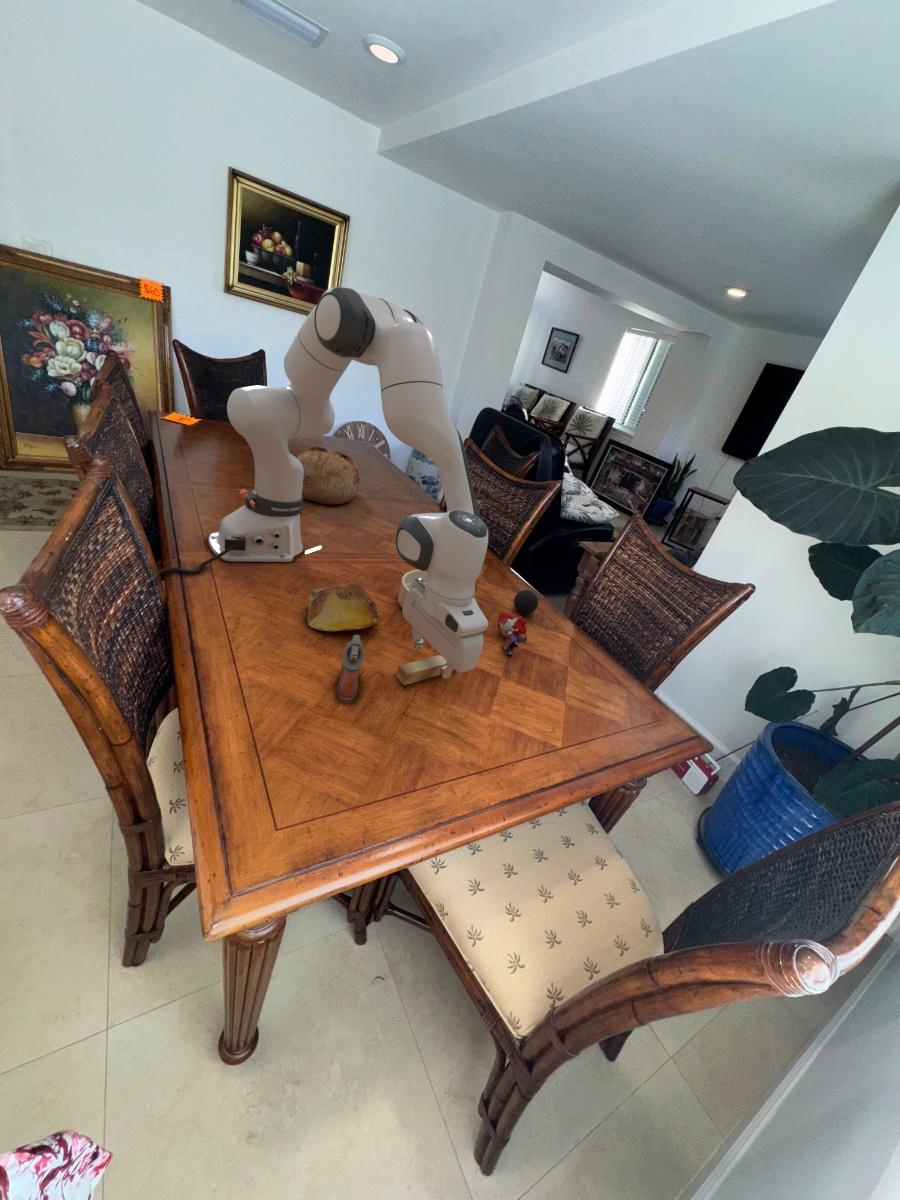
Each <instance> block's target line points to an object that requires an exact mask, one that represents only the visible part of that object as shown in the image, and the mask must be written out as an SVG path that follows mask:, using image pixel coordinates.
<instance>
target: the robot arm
mask: <svg viewBox="0 0 900 1200" xmlns="http://www.w3.org/2000/svg"><path fill="white" fill-rule="evenodd" d="M434 339H435V338H434V336H433V335H432V333H431V331H430V330H429V328H428V327H426V326H425V325H424V323H422V321H421V320H420V319H419V318H418V316H416V315H415V314H414V313H412V311H411V312H410V310H407V309H403V308H401V307H399V306H398V305H396V304H394V303H392V302H390V301H388V300H386V299H384V298H381V297H375V296H373V295H369V294H366V293H363V292H358V291H356V290H355V289H353V288H350V287H343V286H335V287H334V286H333V287H329V288H328V289H326V290H325V291H324V292H323V293H322V295H321V296H320V298H319V299H318V300H317V304H316V305H315V306H314V307H313V309H311V311H310V313H308V315H307V316H306V318H305V319H304V321H303V323H302V325H301V326H300V327H299V329H298V331H297V333H296V335H295V337H294V339H293V341H292V342H291V344H290V346H289V348H288V350H287V351H286V353H285V355H284V357H283V369H284V372H285V375H286V377H287V379H288V381H289V382H290V383H289V384H288V385H286V386H281V387H280V386H268V385H250V386H242V387H239V388H235V389H234V390H232V392H231V393H230V395H229V397H228V399H227V404H226V413H227V418H228V420H229V422H230V425H231V426H232V428H233V429H234V430H235V432H237V433H238V434H239V435H240V436H241V437H242V438H243V439H244V440H245V441H246V442H247V444H248V446H249V448H250V450H251V453H252V456H253V461H254V488H253V490H252V491H251V492H249V491H248V490H247V489H246V488H240V490H239V492H238V495H239V496H240V497H241V498H242V499H243V500H245V504H244V505H242V506H240V507H239V508H238V509H236V510H234V511H232V512H231V513H229V514H227V515H226V516H224V517H223V518H222V519H221V522H220V524H219V527H218V532H217V531H216V532H213V533H211V534H209V536H208V546H209V548H210V550H211V551H212V553H213V554H214V556H213V557H211V558H209V559H207V560H205V561H203V562H201V563H200V564H198V566H196V569H191V570H190V569H185V568H181V567H168V568H162V569H158V571H159V575H161V574H163V573H168V572H179V573H184V574H191V575H193V574H197V573H199V572H200V570H201V569H202V568H204V567H205V566H206V565H208V564H210V563H212V562H214V561H216V560H218V559H222V560H223V561H226V562H244V563H245V562H250V563H251V562H253V563H254V562H257V563H259V562H260V563H290V562H292V561H293V560H294V557H296V556H297V555H300V554H301V553H302V552H303V550H304V544H303V540H302V532H301V517H302V516H303V515H302V514H303V508H304V498H303V496H302V488H303V477H304V468H303V465H302V464H301V462H300V461H299V460H298V459H297V456H295V455H293V454H292V453H290V450H289V440H299V439H303V440H305V439H307V440H308V439H309V440H310V439H315V438H318V437H322V436H326V435H328V434H329V433H330V432H331V431H332V429H333V427H334V424H335V419H336V414H335V408H334V406H333V403H332V401H331V400H330V399H331V395H332V393H333V391H334V389H335V387H336V386H337V384H338V382H339V381H340V379H341V378H342V376H343V375H344V373H345V372H346V370H347V368H348V367H349V366H350V364H351V362H352V361H355V362H356V363H360V364H363V365H367V366H375V367H377V370H378V375H379V387H380V396H381V408H382V414H383V418H384V421H385V424H386V427H387V428H388V430H389V431H390V432H391V434H392V435H393V436H394V437H395V438H396V439H397V440H399V441H400V442H401V443H403V444H404V445H406V446H407V447H410V448H412V449H414V450H416V451H418V452H420V453H421V454H422V455H424V456H425V457H426V458H428V459H429V460H430V461H431V462H432V463H433V465H434V466H435V467H436V469H437V471H438V474H439V479H440V482H441V487H442V492H443V497H444V501H445V505H446V512H425V513H424V512H423V513H414V514H411V515H410V514H409V515H406V516H405V517H404V518H402V520H401V521H400V523H399V525H398V527H397V530H396V535H395V548H396V552H397V553H398V555H399V556H400V558H401V559H402V560H403V561H404V562H405V563H406V564H407V565H409V566H411V567H413V568H415V570H421V571H426V572H427V574H428V579H427V582H425V581H424V580H423V579H421V578H419V579H415V580H414V581H413V582H412V587H411V589H410V590H409V592H408V594H407V597H406V599H405V602H404V605H403V608H401V609H402V610H401V613H402V617H403V619H404V620H405V621H406V622H407V623H408V624H409V625H410V626H411V635H412V643H411V646H412V647H413V648H414V649H415V650H416V651H418V650H422V649H423V648H424V645H425V641H426V642H427V643H428V644H429V645H430V646H431V647H432V648H433V649H434V650H435V651H436V652H437V653H438V655H441V656H442V657H443V658H444V659H445V660H446V661H447V662H446V665H448V666H445V667H441V669H440V672H439V674H440V675H439V676H440V677H441V678H443V679H444V680H446V679H449V678H451V676H452V673H453V671H454V670H455V671H456V672H457V673H458V674H462V673H467V672H470V671H472V670H475V669H476V668H477V666H478V664H479V661H480V659H481V655H482V651H483V647H484V641H485V640H484V634H483V632H486V631H487V630H488V627H489V620H488V619H487V617H486V616H485V615H484V613H483V611H482V610H481V608H480V606H479V604H478V603H477V600H476V599H475V598H474V597H475V593H476V582H477V580H478V578H479V577H480V575H481V573H482V570H483V567H484V563H485V560H486V556H487V550H488V546H489V529H488V526H487V524H486V523H485V522H484V521H483V518H482V516H481V513H480V510H479V507H478V504H477V499H476V494H475V491H474V486H473V481H472V475H471V472H470V471H471V470H470V467H469V462H468V456H467V452H466V449H465V444H464V441H463V437H462V435H461V433H460V431H459V429H458V428H457V427H456V426H455V424H454V422H453V420H452V418H451V415H450V412H449V410H448V406H447V403H446V399H445V393H444V383H443V375H442V367H441V363H440V357H439V355H438V350H437V347H436V343H435V340H434ZM321 549H322V545H318V546H315V547H313V548H310V549H307V550H305V552H304V554H305V555H308V554H310V553H313V552H316V551H319V550H321ZM452 670H453V671H452Z"/></svg>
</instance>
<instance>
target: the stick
mask: <svg viewBox="0 0 900 1200" xmlns="http://www.w3.org/2000/svg"><path fill="white" fill-rule="evenodd" d="M446 662H447V661H446V660H445V659H444V658H443V657H442V656H441V655H440V654H438V655H434V656H431V657H426V658H423V659H419V660H418V659H417V660H414V661H410V662H407V663H403V664H399V665H398V668H397V672H396V678H397V679H398V681H399V682H400V683H401V685H403V686H407V685H411V684H414V683H417V682H421V681H424V680H428V679H431V678H435V677H438V676H441V675H440V674H439V672H440V669H441V667H445V666H448V665H446ZM453 671H454V670H452V672H453Z"/></svg>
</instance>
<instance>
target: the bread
mask: <svg viewBox="0 0 900 1200" xmlns="http://www.w3.org/2000/svg"><path fill="white" fill-rule="evenodd" d="M296 458H297V459H298V460H299V461H300V462H301V464H302V465H303V468H304V477H303V488H302V496H303V500H304V499H305V500H307V501H309V502H313V503H317V504H321V505H331V506H332V505H333V506H334V505H336V506H337V505H341V504H345V503H348V502H350V501H352V500H353V499H354V498H355V497H356V494H357V492H358V490H359V488H360V483H361V476H360V471H359V468H358V466H357V465H356V463H355V461H354V460H353V458H352V457H351V456H350V455H348V454H347V453H344V452H342V451H340V450H337V451H332V452H331V451H329V450H328V448H327V447H325V446H319V445H312V446H309V447H307V448H304V449H303V450H302V451H301V452H300V453H299V454H298V456H296Z"/></svg>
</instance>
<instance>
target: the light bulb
mask: <svg viewBox="0 0 900 1200" xmlns="http://www.w3.org/2000/svg"><path fill="white" fill-rule="evenodd" d="M513 606H514V608H515V610H516V611H517V612H518V613H520V614H523V615H530V614H533V613H534V612H535V611H536V610H537V609H538V606H539V598H538V595H537V594H536V593H535V592H534V591H533V590H530V589H523V590H520V591H518V592H517V593H516V594H515V596H514V597H513Z"/></svg>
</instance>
